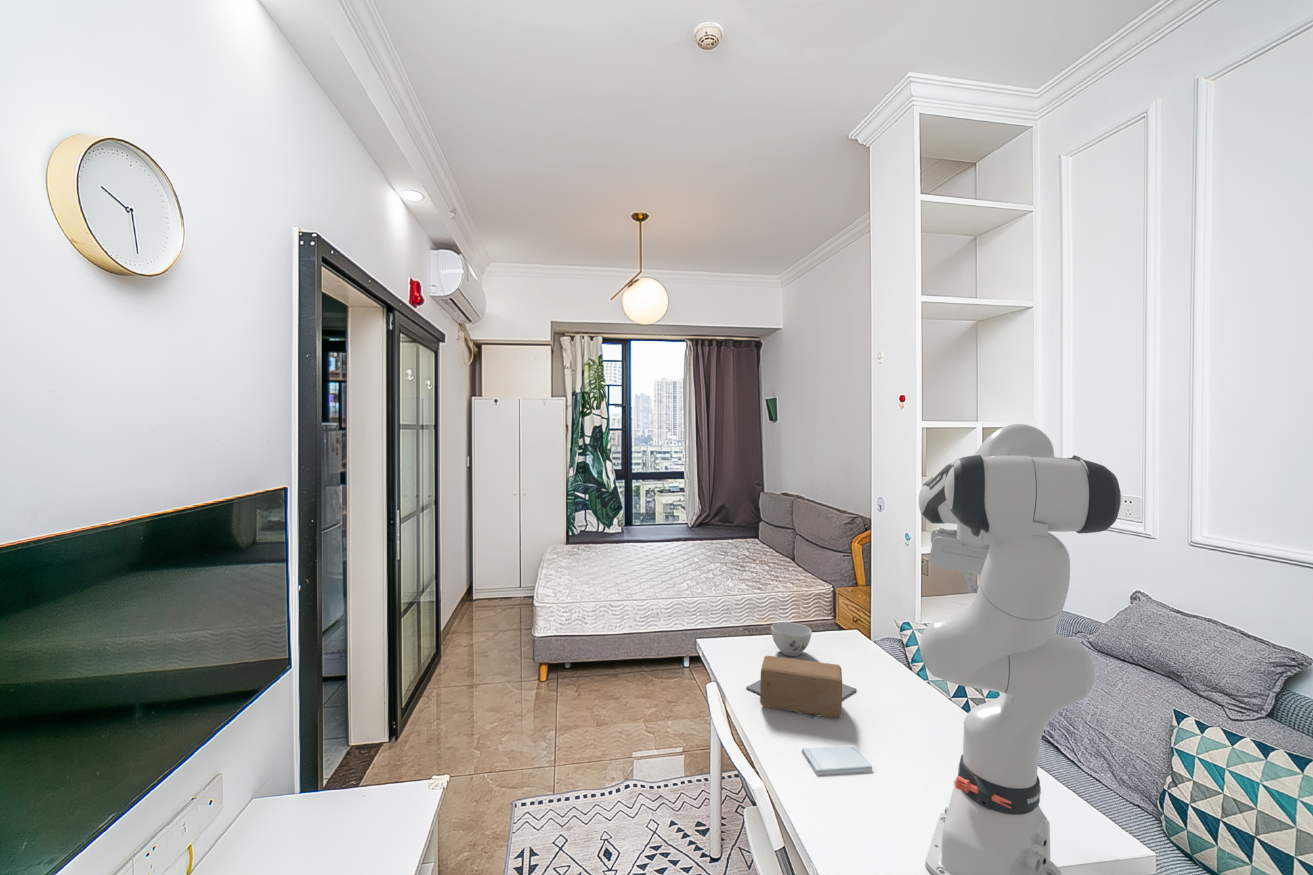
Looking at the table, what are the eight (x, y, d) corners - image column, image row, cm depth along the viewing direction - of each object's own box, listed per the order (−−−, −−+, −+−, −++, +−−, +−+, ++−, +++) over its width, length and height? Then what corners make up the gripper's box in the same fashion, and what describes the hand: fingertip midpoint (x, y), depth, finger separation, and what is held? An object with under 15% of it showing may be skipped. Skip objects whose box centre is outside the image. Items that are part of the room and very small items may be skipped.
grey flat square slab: (813, 718, 140) (813, 716, 140) (746, 688, 156) (746, 686, 156) (856, 690, 155) (856, 688, 155) (791, 665, 171) (791, 664, 171)
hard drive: (854, 744, 128) (801, 746, 126) (872, 766, 120) (816, 769, 118) (854, 751, 128) (801, 754, 126) (872, 773, 120) (816, 777, 118)
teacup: (816, 661, 174) (816, 635, 174) (776, 661, 174) (776, 635, 174) (802, 642, 189) (802, 618, 189) (765, 641, 189) (765, 618, 189)
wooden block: (842, 680, 139) (760, 669, 144) (841, 720, 139) (759, 707, 145) (841, 663, 148) (764, 653, 154) (840, 701, 148) (763, 689, 154)
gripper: (926, 528, 134) (924, 585, 135) (1025, 542, 119) (1023, 607, 120) (936, 525, 139) (934, 580, 139) (1033, 538, 124) (1031, 601, 124)
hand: (976, 593), depth 129 cm, fingers closed
